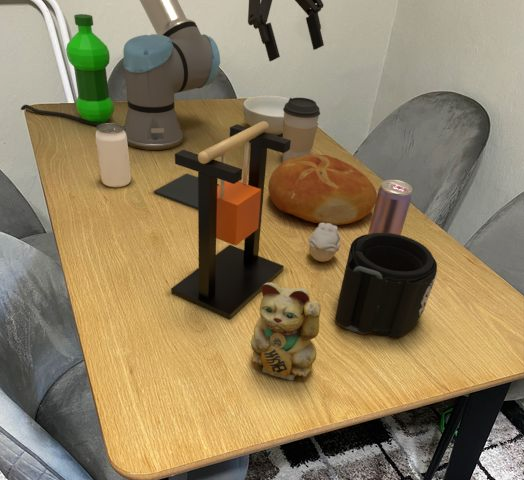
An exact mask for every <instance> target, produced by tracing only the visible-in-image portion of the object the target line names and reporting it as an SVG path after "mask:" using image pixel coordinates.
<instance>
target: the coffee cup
mask: <svg viewBox="0 0 524 480" xmlns="http://www.w3.org/2000/svg"><path fill="white" fill-rule="evenodd" d="M283 111H284V119H283V134H282V138H285V139H288V140H291V143H290V150H288V151H287V152H285V153H282V163H283V162H284V161H286V160H288V159H290V158H297V157H300V156H304V155H311V153H312V149H313V146H314V142H315V137H316V134H317V129H318V124H319V123H318V121H319V116H320V115H321V111H320V107H319V106H318V104H317V101H316V100H314V99H310V98H306V97H293V98H292V97H289V101H288V103H286V104H285V107H284V108H283Z"/></svg>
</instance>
